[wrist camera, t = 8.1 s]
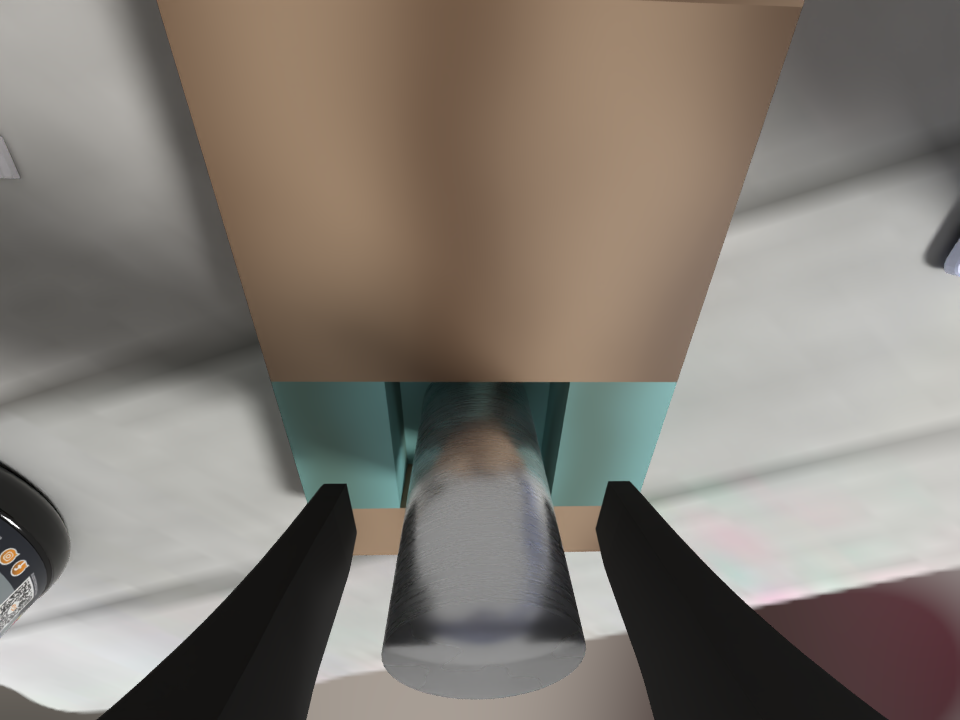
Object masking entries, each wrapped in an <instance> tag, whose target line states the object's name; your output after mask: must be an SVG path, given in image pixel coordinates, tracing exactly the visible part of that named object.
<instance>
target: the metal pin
mask: <svg viewBox="0 0 960 720" xmlns="http://www.w3.org/2000/svg"><path fill="white" fill-rule="evenodd" d="M585 651H586V644H585V639H584V635H583V631H582V626H581V622H580V618H579V614H578V609H577V605H576V601H575V597H574V592H573V588H572V584H571V580H570V575H569V571H568V567H567V563H566V558H565V554H564V550H563V546H562V541H561V537H560V533H559V528H558V524H557V520H556V516H555V511H554V507H553V503H552V499H551V494H550V490H549V486H548V482H547V477H546V473H545V469H544V465H543V460H542V456H541V452H540V448H539V443H538V439H537V435H536V431H535V426H534V422H533V418H532V414H531V409H530V405H529V401H528V397H527V393H526V391H525V389H524V387H523V385H522V384H521V382H432V383H431V384H430V385H429V387H428V389H427V390H426V393H425V395H424V400H423V405H422V411H421V418H420V424H419V430H418V436H417V442H416V448H415V454H414V460H413V466H412V472H411V478H410V484H409V490H408V496H407V503H406V509H405V515H404V521H403V527H402V533H401V539H400V545H399V551H398V557H397V563H396V569H395V575H394V581H393V587H392V594H391V600H390V606H389V612H388V618H387V624H386V630H385V636H384V642H383V648H382V654H381V655H382V662H383V664H384V667H385V668H386V670H387V671H388V673H389V674H391V676H393V677H394V678H395V679H396V680H398V681H399V682H401V683H402V684H404V685H406V686H408V687H411V688H413V689H416V690H418V691H421V692H424V693H428V694H432V695H436V696H442V697H448V698H457V699H494V698H503V697H510V696H516V695H520V694H525V693H529V692H532V691H536V690H539V689H541V688H544V687H547V686H549V685H551V684H554V683H556V682H558V681H559V680H561V679H563V678H564V677H566V676H567V675H569V674H570V673H571V672H573V671H574V670H575V669H576V668H577V667H578V665H579V664H580V663H581V662H582V659H583V658H584V655H585Z"/></svg>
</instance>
